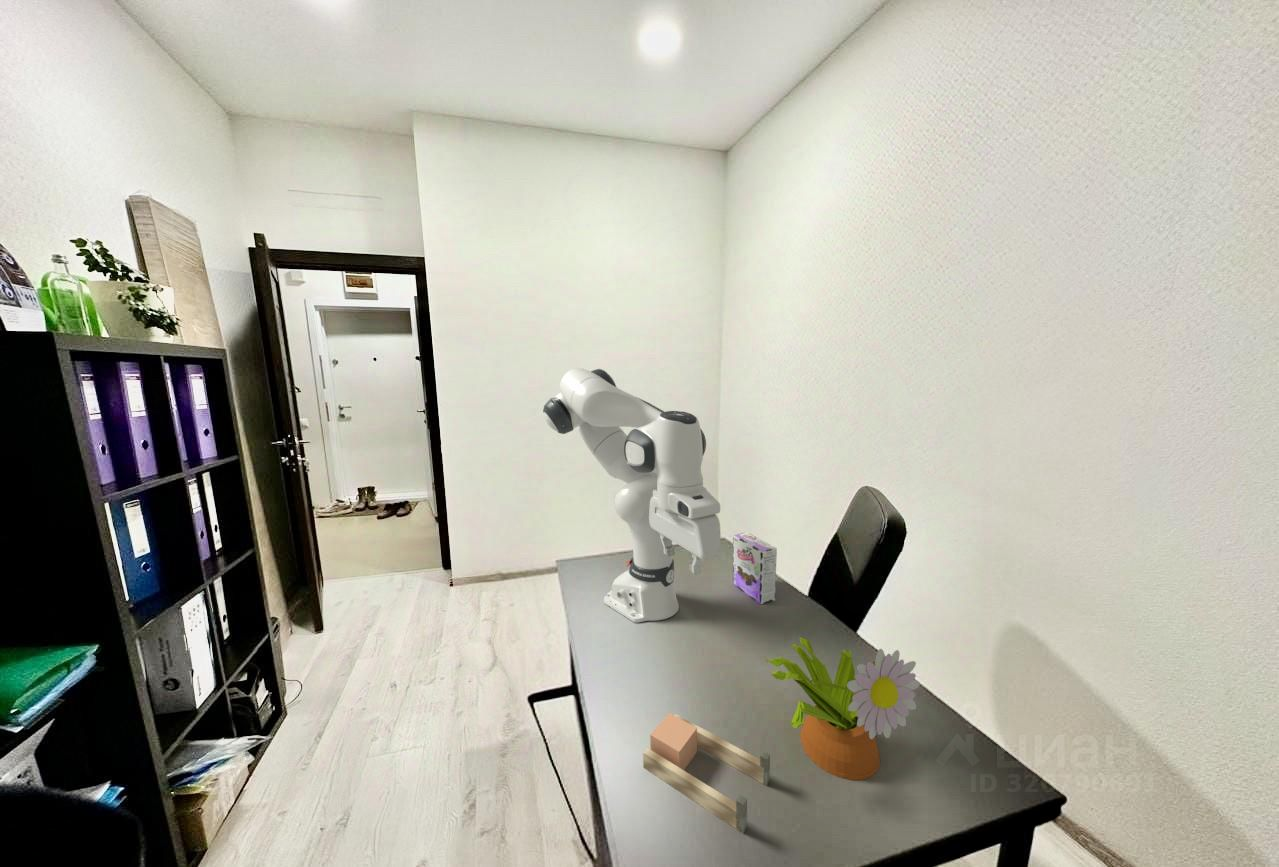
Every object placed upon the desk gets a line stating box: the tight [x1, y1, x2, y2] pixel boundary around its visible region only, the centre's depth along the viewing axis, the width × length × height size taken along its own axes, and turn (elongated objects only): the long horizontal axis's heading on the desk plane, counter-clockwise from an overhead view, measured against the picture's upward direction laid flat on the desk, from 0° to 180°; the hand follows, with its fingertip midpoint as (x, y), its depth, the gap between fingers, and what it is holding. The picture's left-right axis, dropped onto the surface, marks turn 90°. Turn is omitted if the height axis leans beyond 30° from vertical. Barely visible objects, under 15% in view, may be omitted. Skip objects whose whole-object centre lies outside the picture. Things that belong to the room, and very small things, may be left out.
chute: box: [642, 713, 771, 834], centre depth 75 cm, size 19×10×5 cm, turn 53°
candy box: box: [732, 531, 778, 605], centre depth 132 cm, size 14×6×16 cm, turn 23°
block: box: [649, 712, 698, 771], centre depth 79 cm, size 6×6×5 cm
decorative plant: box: [765, 637, 921, 781], centre depth 79 cm, size 27×24×25 cm
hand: (681, 563), depth 87 cm, fingers open, 8 cm apart
